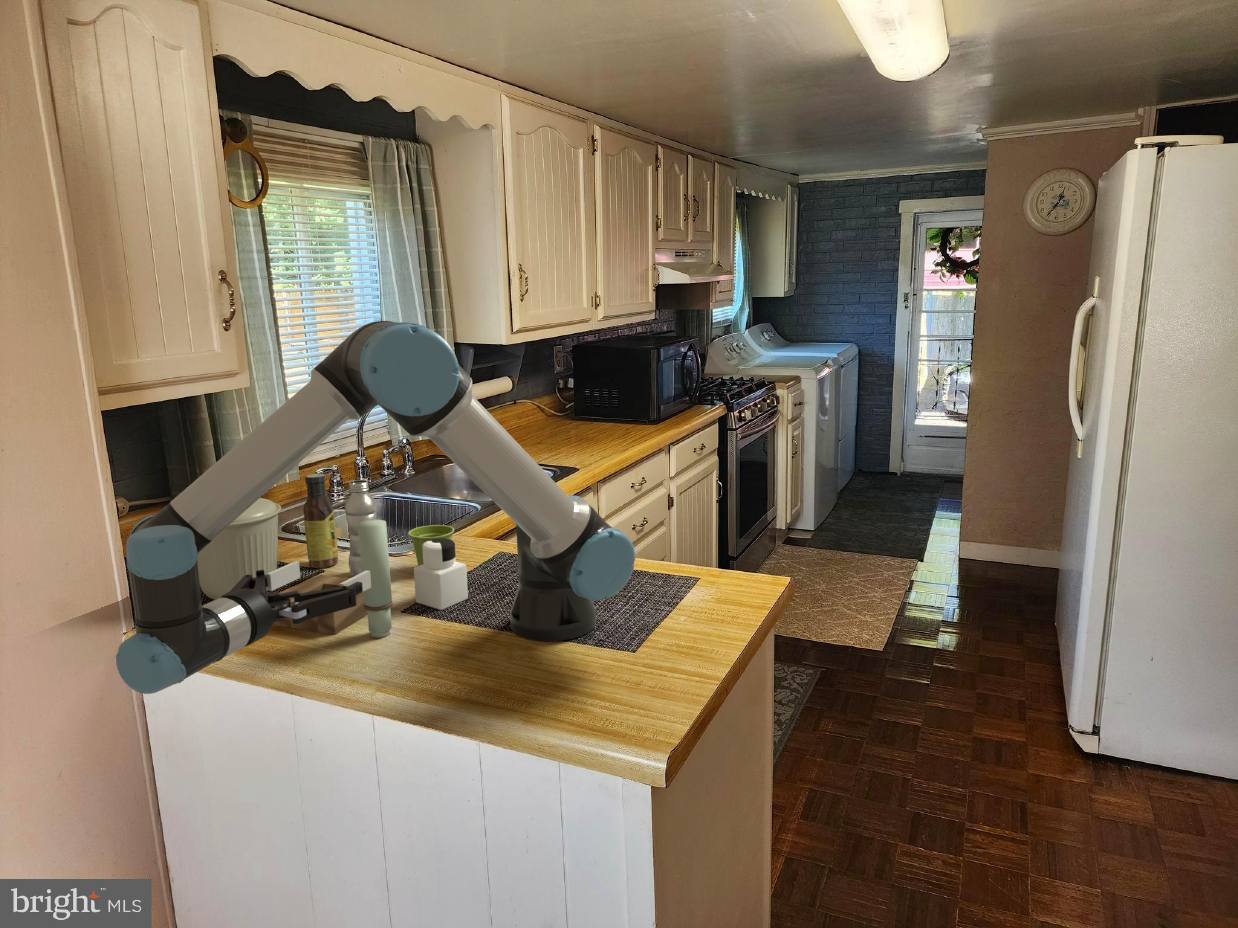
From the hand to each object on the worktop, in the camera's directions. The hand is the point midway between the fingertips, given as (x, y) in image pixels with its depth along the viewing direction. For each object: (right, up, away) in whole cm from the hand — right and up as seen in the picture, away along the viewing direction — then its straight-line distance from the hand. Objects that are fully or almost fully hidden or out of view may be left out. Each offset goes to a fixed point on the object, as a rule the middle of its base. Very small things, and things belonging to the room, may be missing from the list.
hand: (332, 573), depth 135 cm
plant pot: (+6, -5, +44) cm, 45 cm away
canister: (-30, -8, +33) cm, 45 cm away
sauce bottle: (-18, -4, +49) cm, 52 cm away
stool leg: (+4, -12, +12) cm, 17 cm away
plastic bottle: (-7, -6, +42) cm, 43 cm away
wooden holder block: (-8, -10, +20) cm, 24 cm away
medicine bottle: (+12, -9, +27) cm, 31 cm away
